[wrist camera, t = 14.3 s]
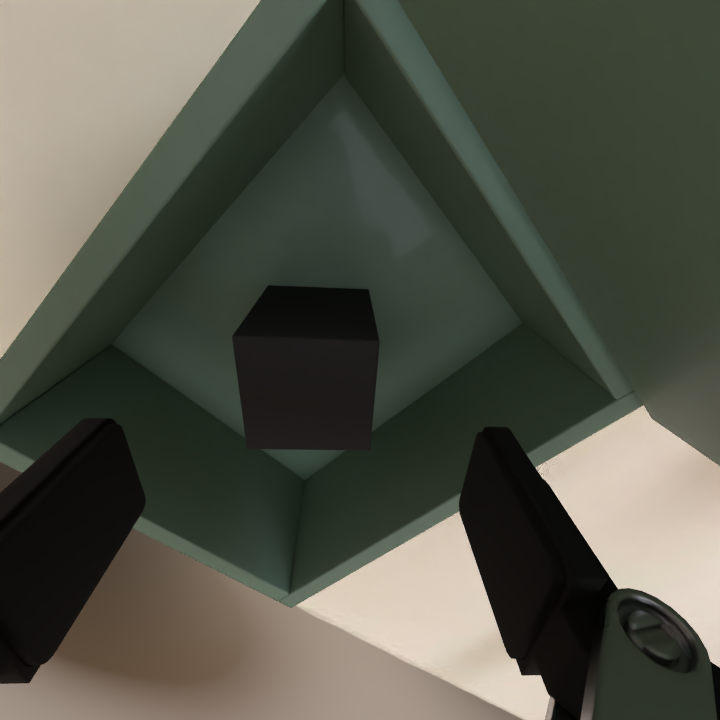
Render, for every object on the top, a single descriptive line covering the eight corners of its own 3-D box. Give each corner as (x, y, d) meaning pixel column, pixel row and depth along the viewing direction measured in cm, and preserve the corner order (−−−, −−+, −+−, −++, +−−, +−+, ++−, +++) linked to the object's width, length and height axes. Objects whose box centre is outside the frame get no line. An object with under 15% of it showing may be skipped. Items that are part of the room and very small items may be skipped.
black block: (274, 372, 17) (246, 449, 12) (267, 284, 15) (230, 336, 10) (363, 375, 18) (370, 451, 13) (369, 289, 15) (380, 340, 11)
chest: (306, 482, 22) (290, 608, 16) (97, 336, 17) (-56, 434, 10) (537, 317, 17) (650, 402, 11) (344, 39, 12) (343, -118, 6)
